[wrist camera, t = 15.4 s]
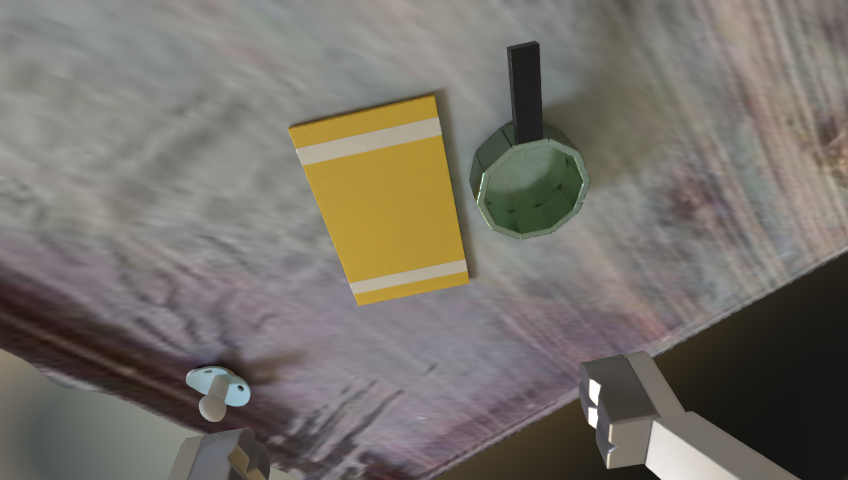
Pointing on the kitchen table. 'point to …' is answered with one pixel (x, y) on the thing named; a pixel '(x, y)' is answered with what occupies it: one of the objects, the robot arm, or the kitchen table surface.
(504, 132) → the green saucepan
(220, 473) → the robot arm
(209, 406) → the pacifier
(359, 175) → the towel
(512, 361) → the kitchen table surface
